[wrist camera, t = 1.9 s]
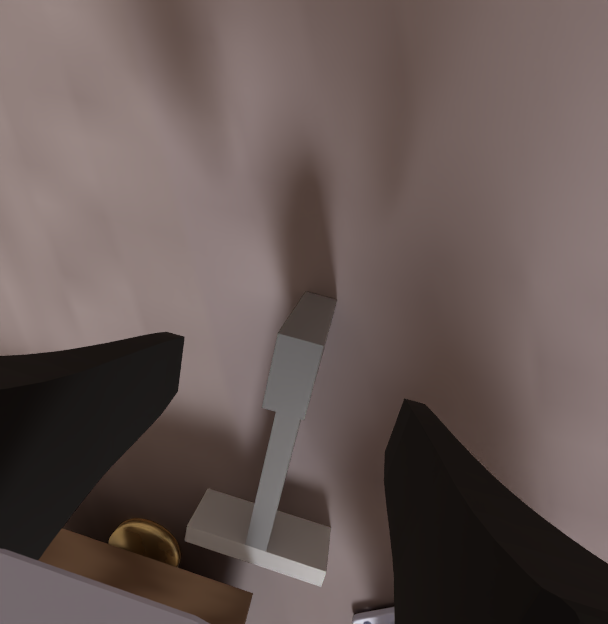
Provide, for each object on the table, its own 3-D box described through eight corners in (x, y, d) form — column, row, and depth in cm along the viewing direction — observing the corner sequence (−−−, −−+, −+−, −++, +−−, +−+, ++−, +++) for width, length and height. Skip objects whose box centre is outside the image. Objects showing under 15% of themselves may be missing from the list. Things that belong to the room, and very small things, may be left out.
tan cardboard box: (274, 535, 22) (237, 673, 16) (243, 653, 26) (202, 803, 20) (38, 458, 24) (-86, 555, 17) (41, 580, 28) (-61, 698, 21)
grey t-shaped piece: (401, 316, 17) (419, 372, 12) (326, 540, 22) (313, 657, 16) (244, 275, 18) (189, 308, 12) (205, 501, 23) (152, 600, 17)
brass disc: (158, 506, 24) (150, 519, 23) (196, 561, 25) (189, 575, 24) (104, 524, 25) (94, 536, 24) (142, 575, 26) (134, 589, 25)
